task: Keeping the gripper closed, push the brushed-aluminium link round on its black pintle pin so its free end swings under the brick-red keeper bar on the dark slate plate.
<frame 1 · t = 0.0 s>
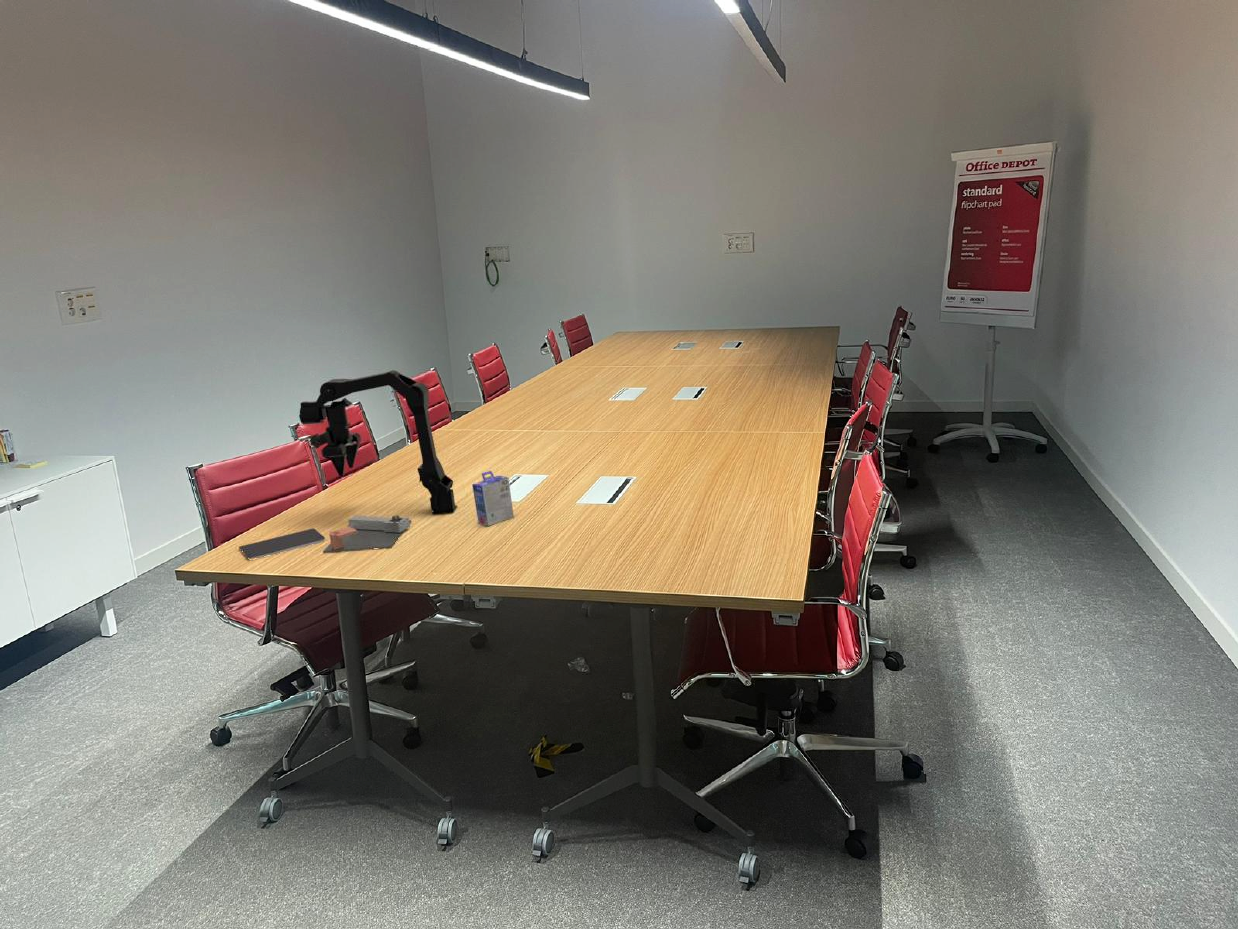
hand: (346, 471, 274), 15 cm above the table, tool pointing down, fingers open, 9 cm apart
keeper: (343, 539, 250), resting on pintle plate
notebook: (283, 548, 258), on the table
ink cartridge box: (495, 521, 263), on the table
pintle plate: (397, 531, 261), on the table
link: (378, 523, 263), point 2 cm above the table, hinge at -20.0°
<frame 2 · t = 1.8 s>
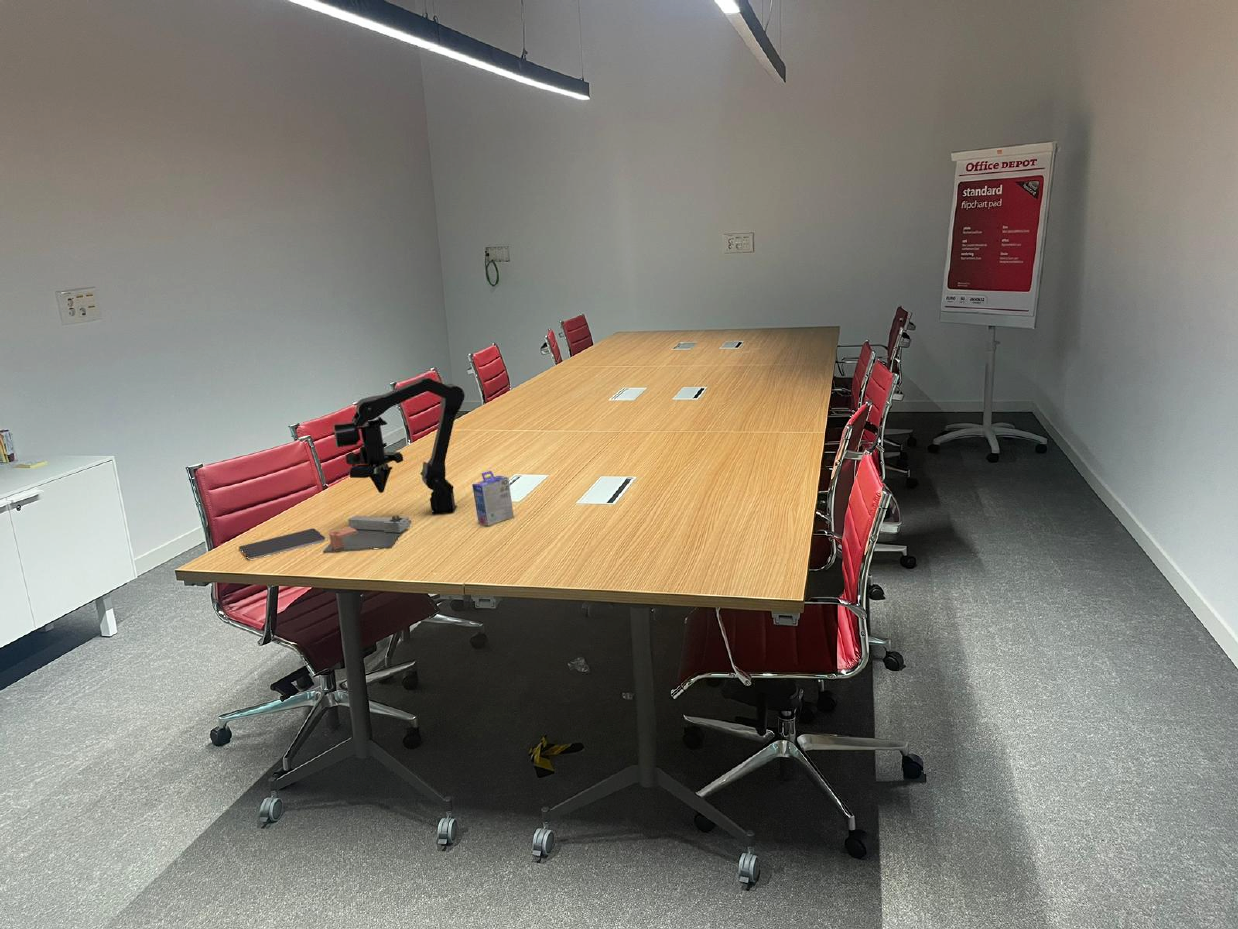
hand: (381, 492, 268), 9 cm above the table, tool pointing down, fingers closed
nothing on the table moved.
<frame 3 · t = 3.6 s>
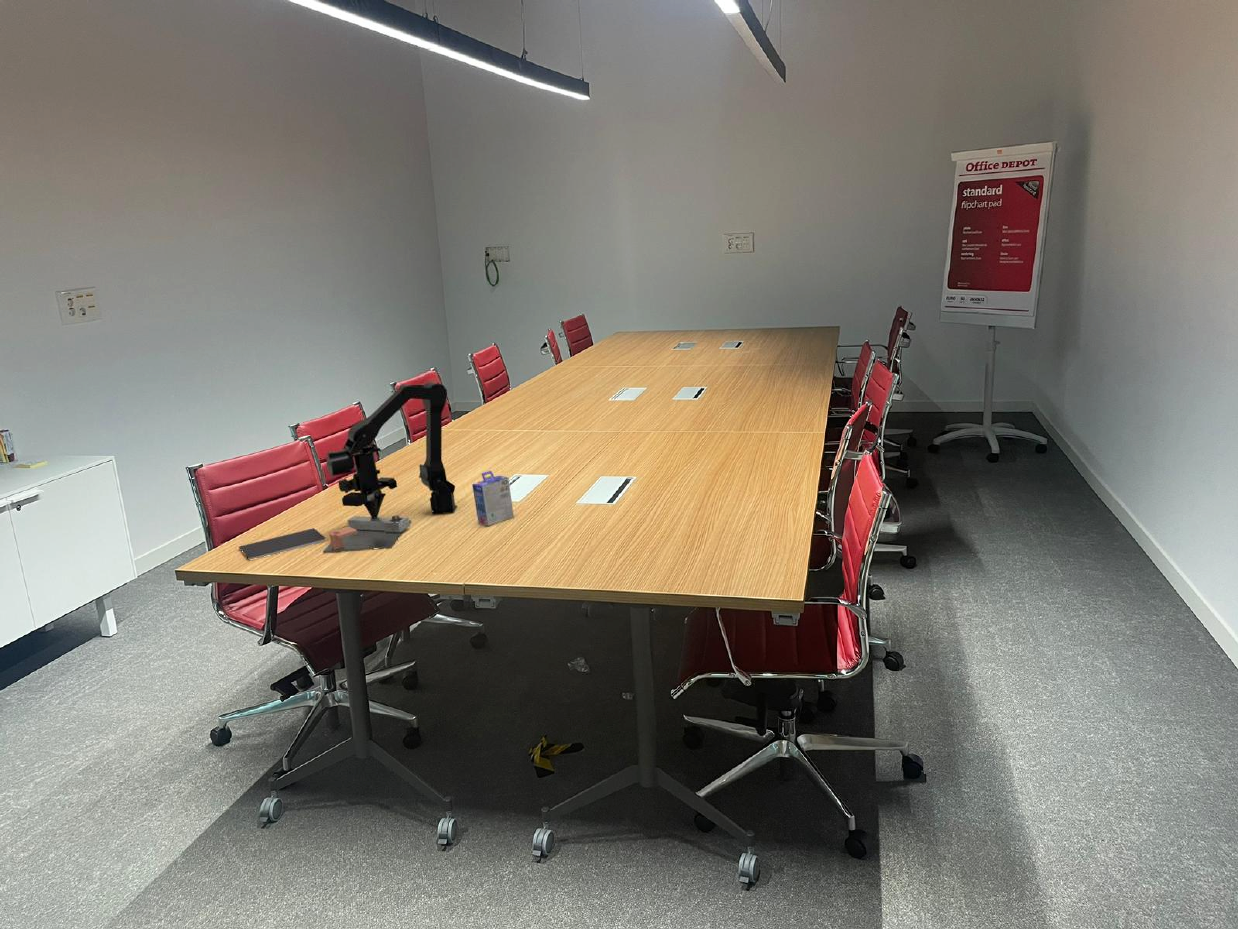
hand: (374, 519, 266), 3 cm above the table, tool pointing down, fingers closed
link: (377, 523, 263), point 2 cm above the table, hinge at -18.5°, touching gripper
everything else where it was.
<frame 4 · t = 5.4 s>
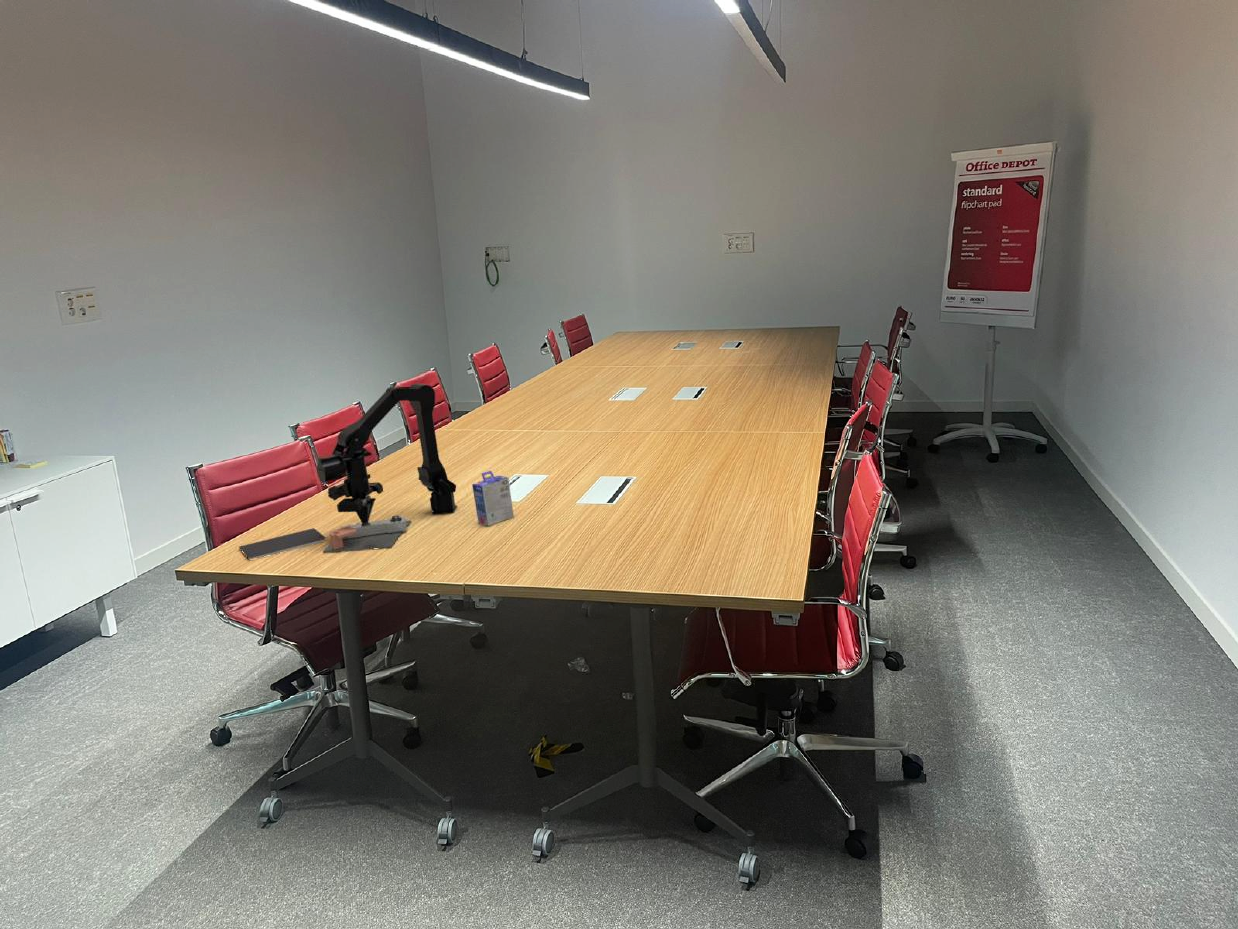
hand: (365, 525, 261), 3 cm above the table, tool pointing down, fingers closed
link: (373, 528, 259), point 2 cm above the table, hinge at 15.8°, touching gripper
everything else where it was.
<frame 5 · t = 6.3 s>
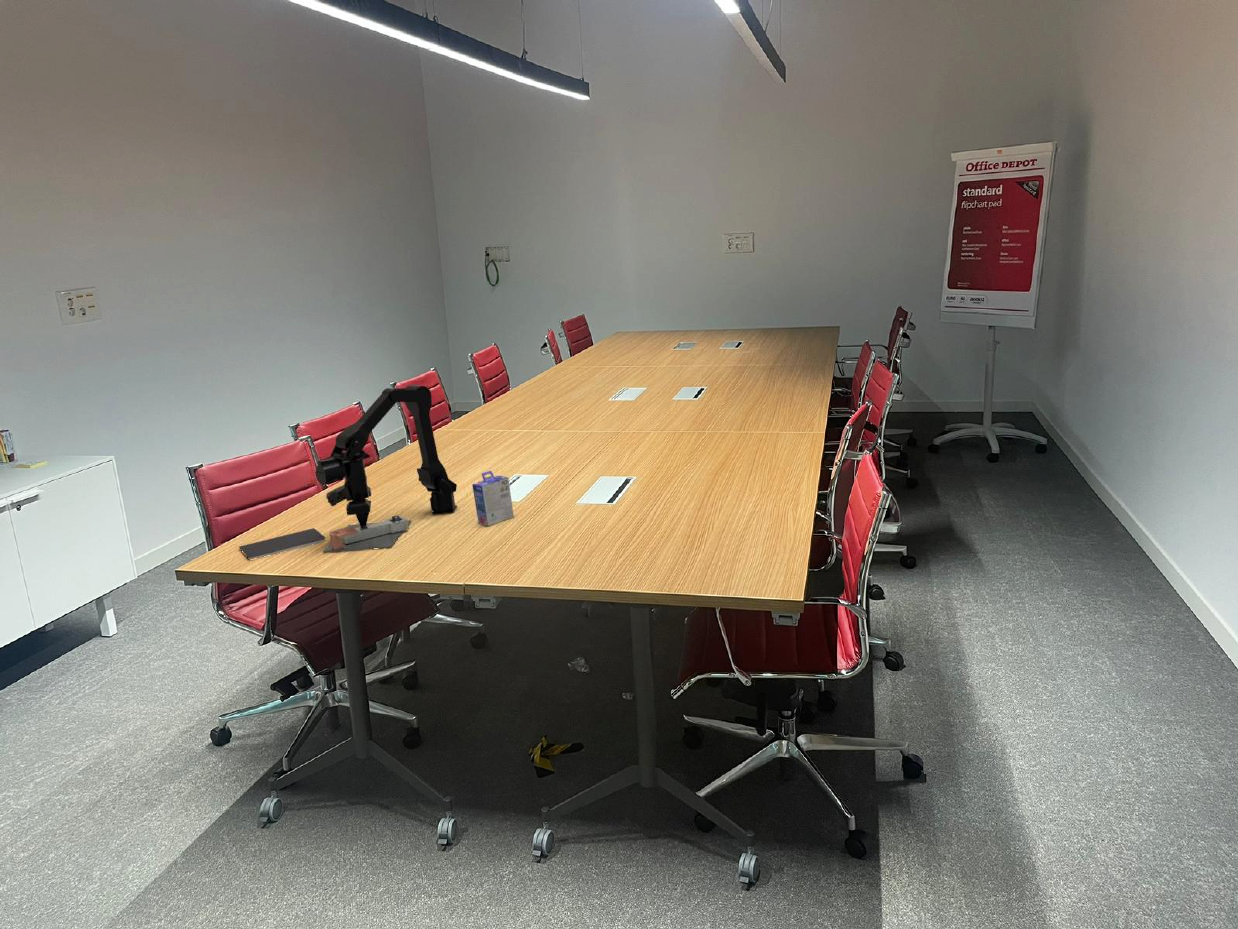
hand: (363, 528, 258), 3 cm above the table, tool pointing down, fingers closed
link: (374, 530, 257), point 2 cm above the table, hinge at 34.3°, touching gripper
everything else where it was.
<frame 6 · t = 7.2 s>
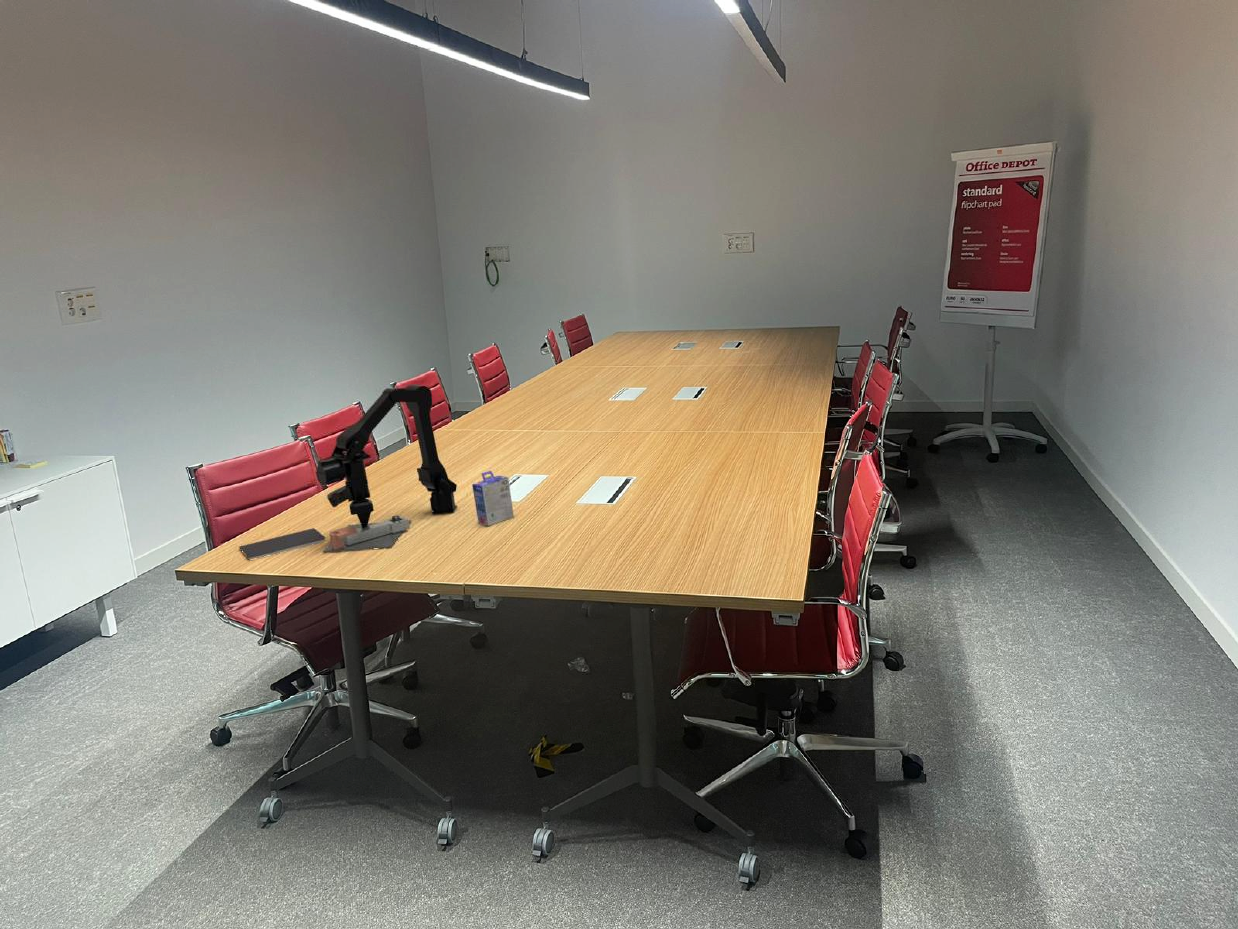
hand: (364, 528, 258), 2 cm above the table, tool pointing down, fingers closed
link: (375, 530, 257), point 2 cm above the table, hinge at 40.2°
everything else where it was.
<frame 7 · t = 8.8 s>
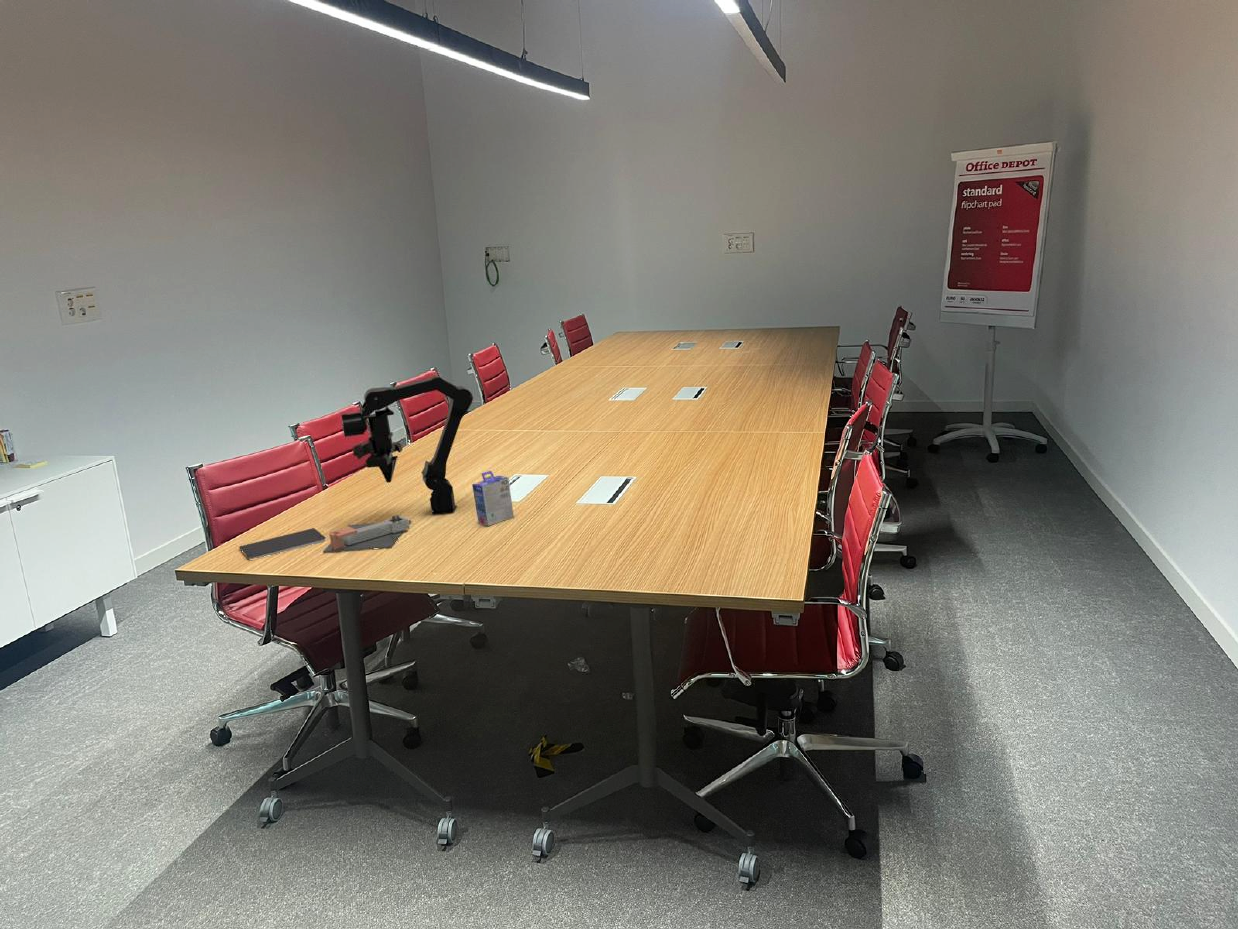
hand: (389, 482, 269), 12 cm above the table, tool pointing down, fingers closed
nothing on the table moved.
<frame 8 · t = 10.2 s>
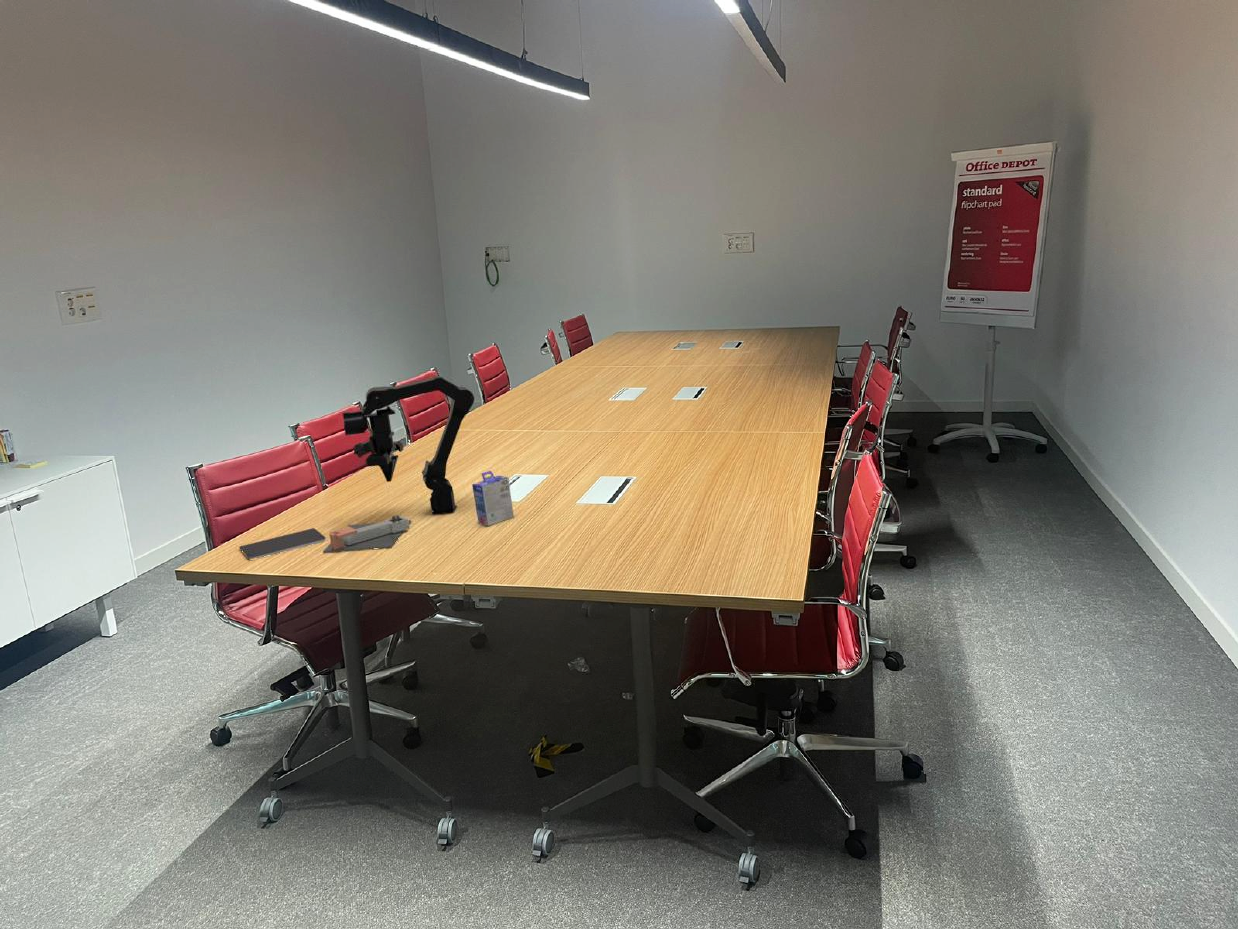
hand: (389, 481, 270), 12 cm above the table, tool pointing down, fingers closed
nothing on the table moved.
at the end: link at +40° (first picture: -20°); the gripper is holding nothing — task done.
